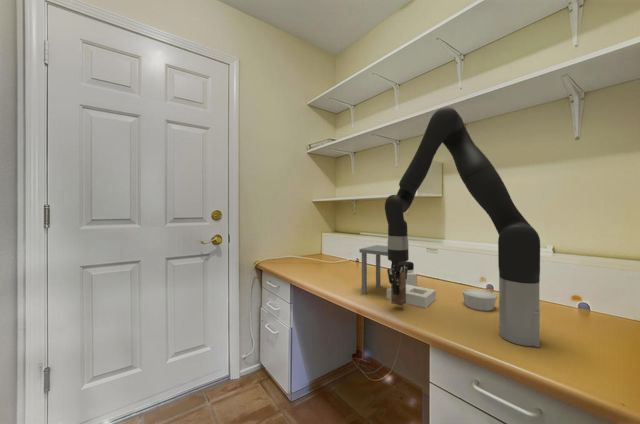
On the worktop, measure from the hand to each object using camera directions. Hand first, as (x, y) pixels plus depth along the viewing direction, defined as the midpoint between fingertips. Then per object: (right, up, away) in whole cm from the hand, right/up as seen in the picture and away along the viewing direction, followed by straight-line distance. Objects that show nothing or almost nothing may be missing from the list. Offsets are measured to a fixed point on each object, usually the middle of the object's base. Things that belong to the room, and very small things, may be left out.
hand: (398, 292), depth 96 cm
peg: (0, -4, 0) cm, 4 cm away
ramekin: (+32, -6, +2) cm, 32 cm away
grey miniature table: (-2, -6, +19) cm, 19 cm away
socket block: (+8, -6, +10) cm, 14 cm away
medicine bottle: (+13, -6, +27) cm, 31 cm away
